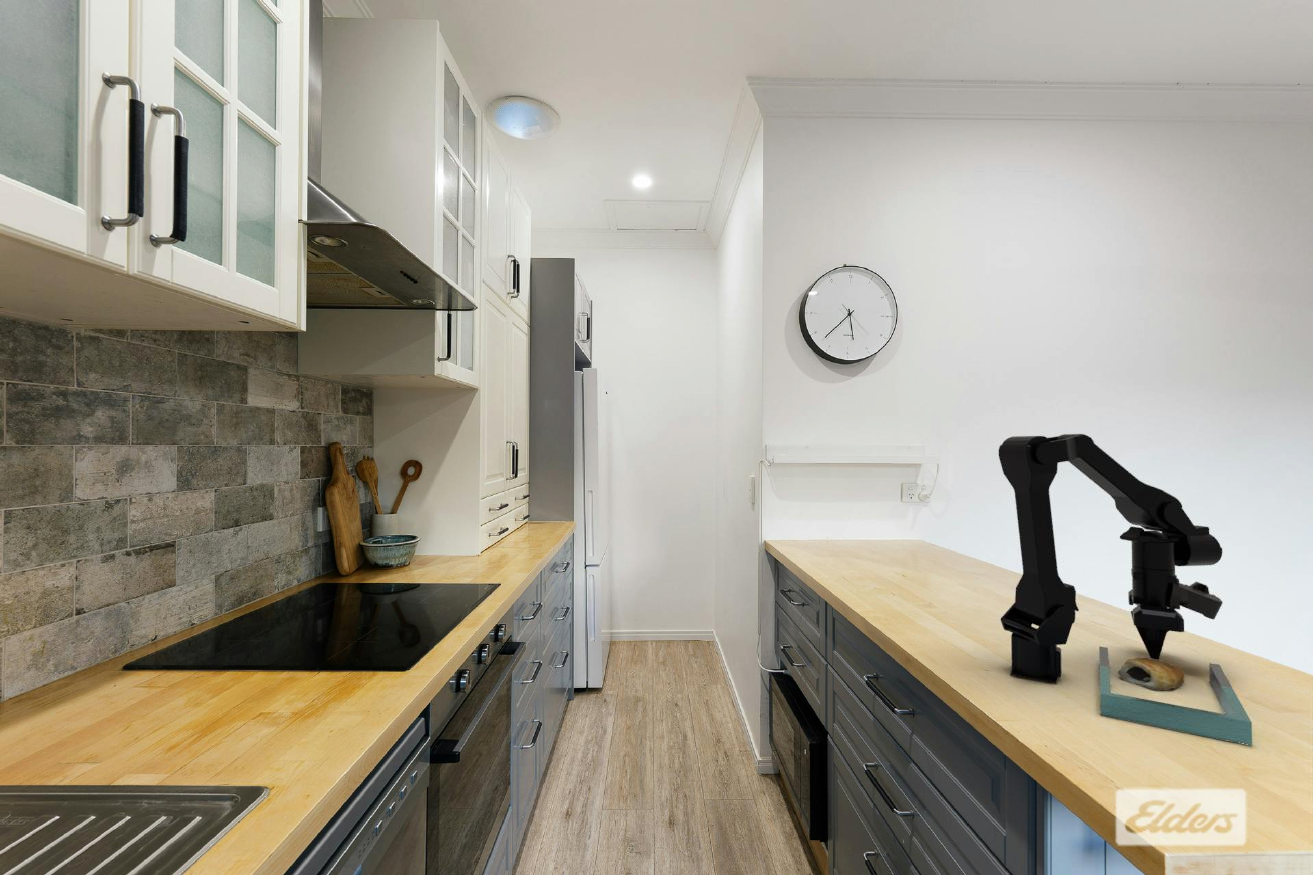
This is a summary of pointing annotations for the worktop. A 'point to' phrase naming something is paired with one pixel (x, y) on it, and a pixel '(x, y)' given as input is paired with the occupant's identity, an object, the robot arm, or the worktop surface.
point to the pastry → (1152, 673)
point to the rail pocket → (1180, 709)
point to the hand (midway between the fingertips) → (1154, 658)
